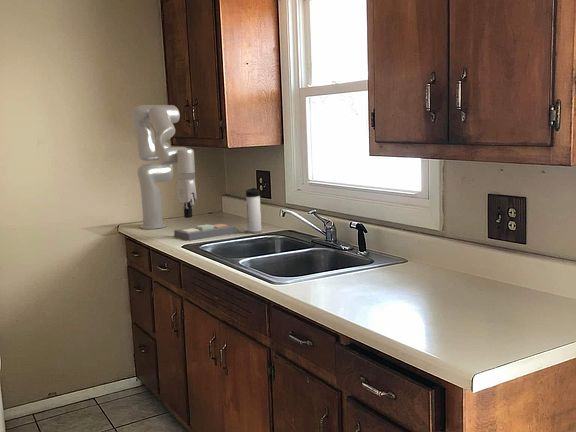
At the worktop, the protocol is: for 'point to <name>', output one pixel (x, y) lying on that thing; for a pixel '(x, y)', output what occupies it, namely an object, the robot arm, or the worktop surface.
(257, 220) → the travel mug
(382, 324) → the worktop surface
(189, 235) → the keypad console
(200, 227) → the sage key
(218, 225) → the terracotta key
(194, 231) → the cream key
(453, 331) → the worktop surface
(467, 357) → the worktop surface
